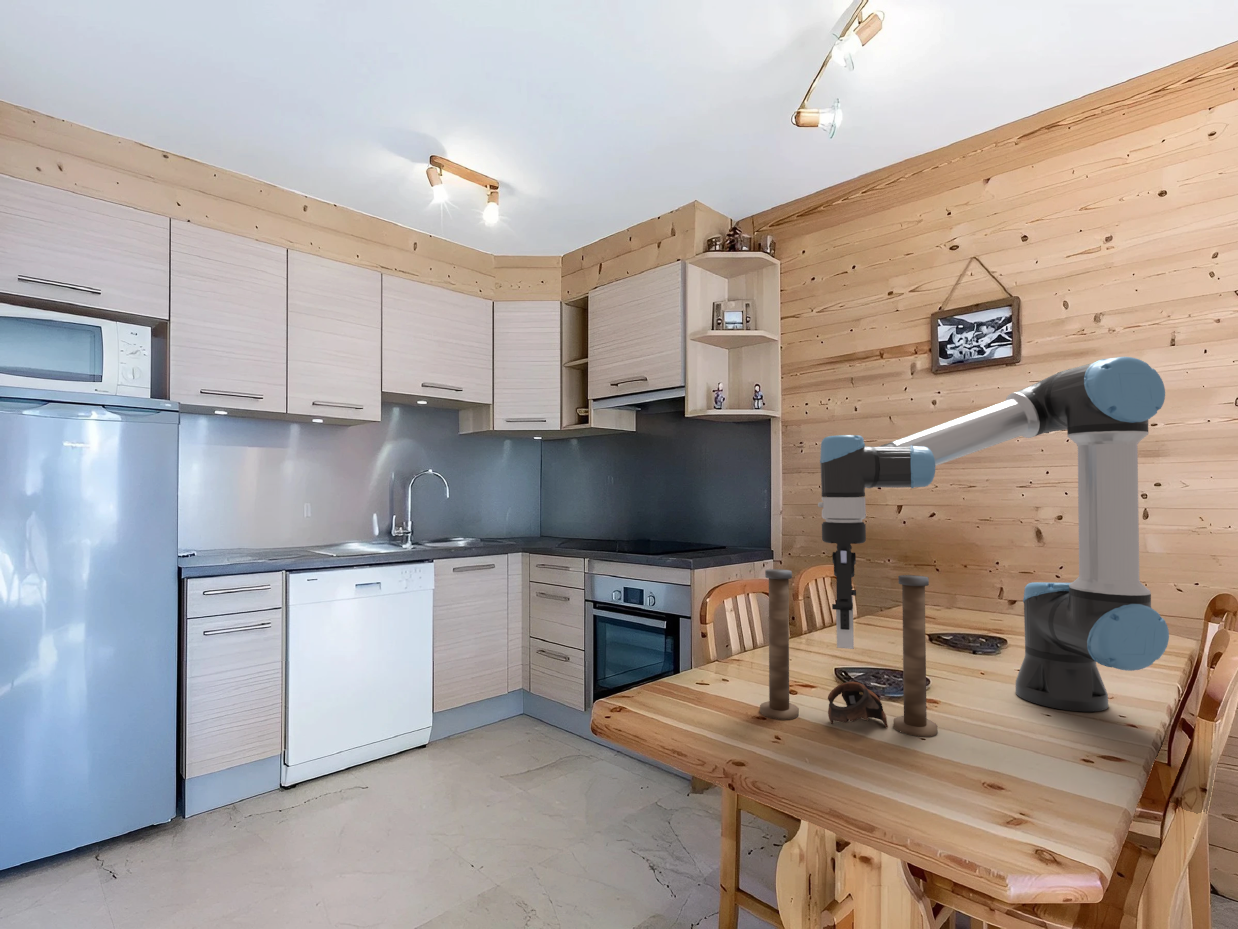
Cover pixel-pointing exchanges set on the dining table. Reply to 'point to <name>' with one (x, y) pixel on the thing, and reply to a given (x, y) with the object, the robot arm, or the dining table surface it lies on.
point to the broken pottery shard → (855, 704)
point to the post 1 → (779, 648)
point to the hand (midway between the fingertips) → (845, 639)
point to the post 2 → (914, 659)
